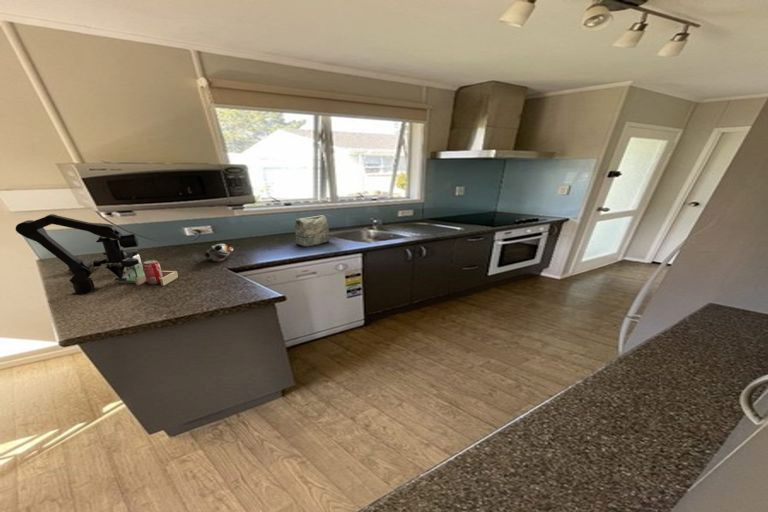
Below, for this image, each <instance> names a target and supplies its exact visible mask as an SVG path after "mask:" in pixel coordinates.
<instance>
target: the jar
mask: <svg viewBox="0 0 768 512" xmlns="http://www.w3.org/2000/svg"><path fill="white" fill-rule="evenodd" d="M123 251H124V252H130V253H133V254H132V258H127V259H138V261H139V263H141V264H142V263H143V262H142V259H141V256H140V253H139V251H138V249H135V248H132V249H131V248H130V249H125V250H123ZM127 259H125V260H127ZM125 260H123V261H125ZM142 268H143V264H142ZM126 272H127V269H126V267H125V268H124V272H123V273H126Z"/></svg>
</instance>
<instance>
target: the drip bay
mask: <svg viewBox="0 0 768 512" xmlns="http://www.w3.org/2000/svg"><path fill="white" fill-rule="evenodd" d="M161 271H162V275H163V277H162V278H160V281H161V283H160V285H161V287H165V286H166V285H168V284H170V283H171V282H173V281H175V280H176V279H178V278H179V274H178V271H177V270H161ZM135 282H136V283H135V285H136V286H141V285H143V284H145V283H147V280H146V277H145V274H143V275H141V276H139V277H137V278H135Z"/></svg>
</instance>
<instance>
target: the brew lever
mask: <svg viewBox="0 0 768 512" xmlns="http://www.w3.org/2000/svg"><path fill="white" fill-rule="evenodd" d="M132 270H134V268H133V266H132V267H130V269H129V270H128V271H127V272H124V273H123V277H122V278H118V277H115V278H114V281H116V282H117V281H118V282H119V281H126V280H127V278H125V277H127V276H128V274H129V273H130V272H131V271H132Z"/></svg>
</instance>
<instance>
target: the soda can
mask: <svg viewBox="0 0 768 512" xmlns="http://www.w3.org/2000/svg"><path fill="white" fill-rule="evenodd" d="M142 266H143V272H144V273H145V277H146V280H147V281H146V283H147V284H149V285H159V284H161V281H160V278H162V277H163V275H162V271H163V270H162V268H161V264H160V262H159V261H158V260H157V259H149V260H146V261H144V262H143V264H142Z"/></svg>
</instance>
